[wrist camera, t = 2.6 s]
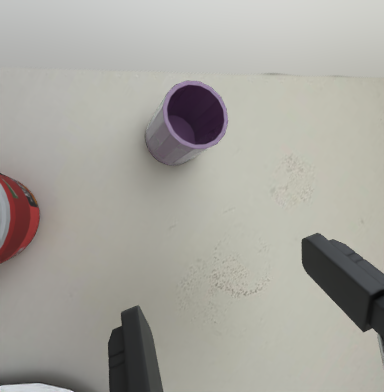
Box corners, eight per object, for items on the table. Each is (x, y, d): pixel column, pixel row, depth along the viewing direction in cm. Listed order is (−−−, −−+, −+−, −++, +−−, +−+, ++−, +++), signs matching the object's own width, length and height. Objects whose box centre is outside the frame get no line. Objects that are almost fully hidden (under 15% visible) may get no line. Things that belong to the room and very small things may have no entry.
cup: (161, 174, 30) (183, 160, 23) (135, 125, 30) (150, 93, 22) (204, 152, 32) (238, 133, 25) (181, 106, 32) (209, 72, 24)
